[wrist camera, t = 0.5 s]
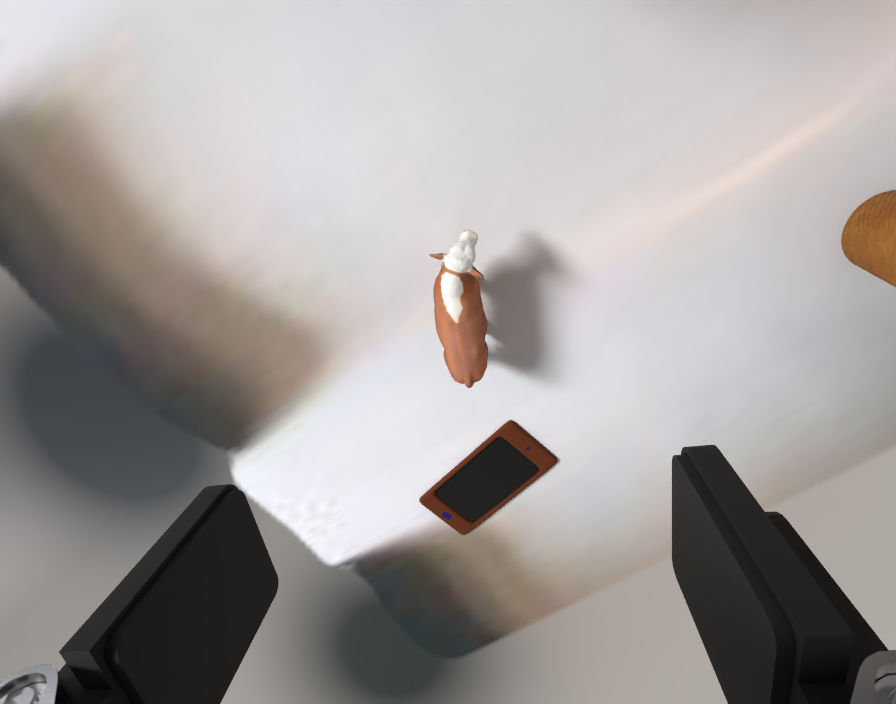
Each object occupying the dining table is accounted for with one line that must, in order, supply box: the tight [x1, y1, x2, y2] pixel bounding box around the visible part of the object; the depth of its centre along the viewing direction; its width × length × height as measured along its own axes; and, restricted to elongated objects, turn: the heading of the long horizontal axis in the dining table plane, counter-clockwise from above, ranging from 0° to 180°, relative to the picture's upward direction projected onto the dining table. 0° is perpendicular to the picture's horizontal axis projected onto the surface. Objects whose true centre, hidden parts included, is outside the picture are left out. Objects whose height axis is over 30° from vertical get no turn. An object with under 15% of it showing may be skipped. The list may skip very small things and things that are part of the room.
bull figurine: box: [429, 230, 488, 388], centre depth 41 cm, size 4×13×8 cm, turn 3°
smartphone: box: [420, 420, 557, 535], centre depth 52 cm, size 7×1×15 cm
